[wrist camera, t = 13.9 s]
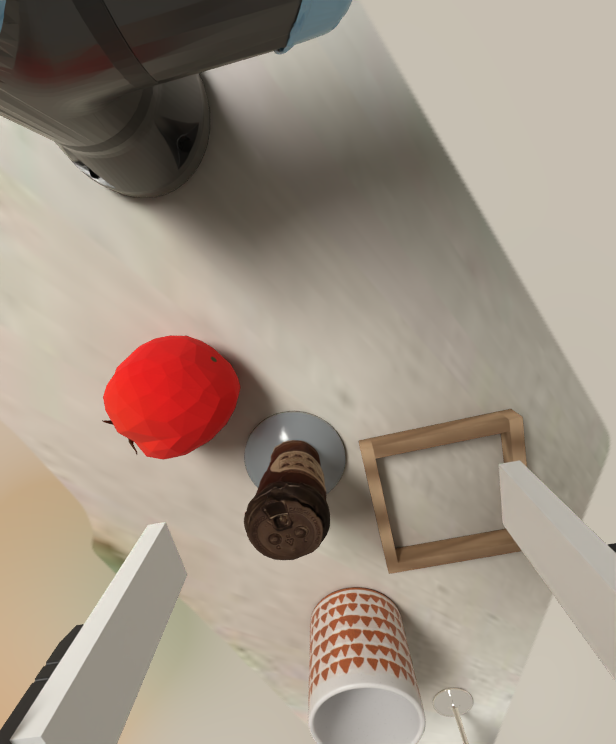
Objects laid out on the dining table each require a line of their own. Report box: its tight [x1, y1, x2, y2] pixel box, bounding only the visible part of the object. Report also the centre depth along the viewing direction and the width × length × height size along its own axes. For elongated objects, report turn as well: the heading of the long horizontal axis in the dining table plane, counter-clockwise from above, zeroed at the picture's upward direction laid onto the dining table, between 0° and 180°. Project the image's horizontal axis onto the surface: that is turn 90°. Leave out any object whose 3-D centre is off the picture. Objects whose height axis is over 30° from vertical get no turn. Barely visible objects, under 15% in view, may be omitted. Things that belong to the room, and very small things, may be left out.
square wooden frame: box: [359, 409, 527, 574], centre depth 45 cm, size 19×19×2 cm
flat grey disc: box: [244, 411, 345, 494], centre depth 45 cm, size 13×13×1 cm
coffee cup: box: [244, 440, 330, 560], centre depth 38 cm, size 9×8×13 cm
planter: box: [308, 588, 426, 744], centre depth 46 cm, size 14×14×13 cm
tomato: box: [103, 336, 240, 459], centre depth 37 cm, size 13×13×13 cm
